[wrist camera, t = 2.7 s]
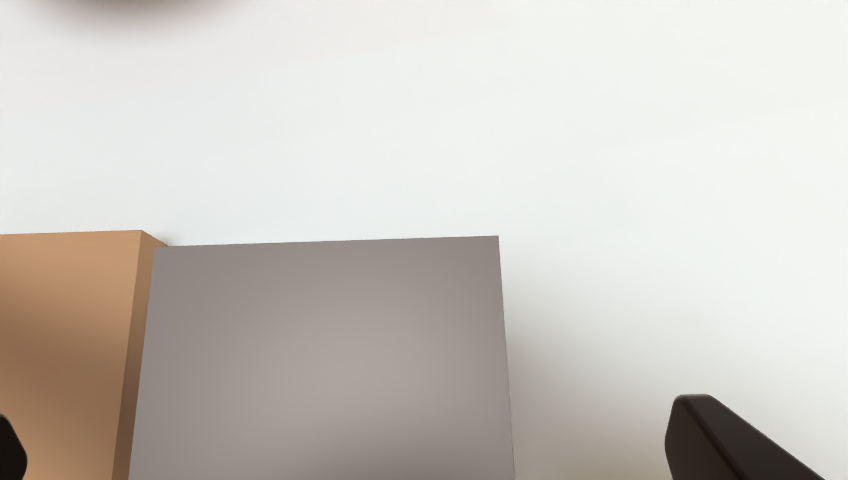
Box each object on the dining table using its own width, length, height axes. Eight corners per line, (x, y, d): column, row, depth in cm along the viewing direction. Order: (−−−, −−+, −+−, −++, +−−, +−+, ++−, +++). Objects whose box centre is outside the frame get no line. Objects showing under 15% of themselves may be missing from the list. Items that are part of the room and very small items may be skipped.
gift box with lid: (477, 506, 15) (529, 642, 6) (299, 510, 15) (104, 650, 6) (468, 327, 16) (502, 231, 7) (305, 332, 16) (151, 243, 8)
